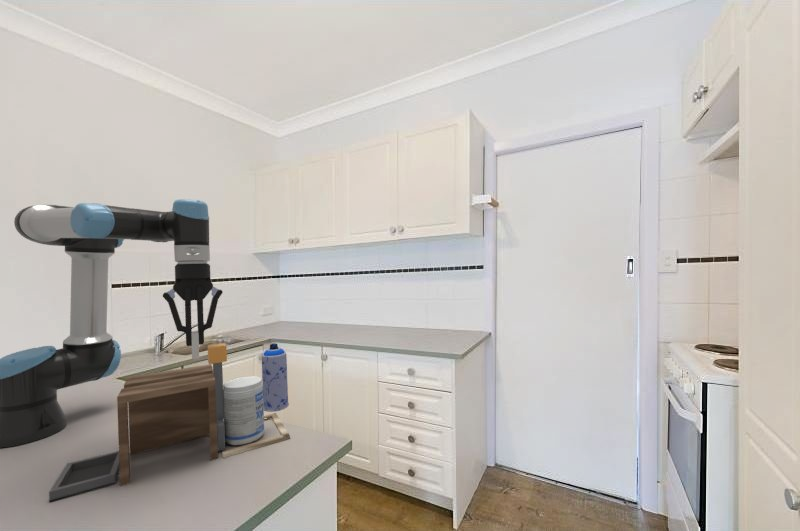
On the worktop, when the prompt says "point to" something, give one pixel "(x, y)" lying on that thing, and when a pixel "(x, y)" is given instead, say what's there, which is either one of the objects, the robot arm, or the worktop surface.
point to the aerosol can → (274, 379)
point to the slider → (218, 387)
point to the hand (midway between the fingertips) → (195, 358)
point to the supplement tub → (243, 410)
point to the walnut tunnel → (166, 412)
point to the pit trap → (86, 476)
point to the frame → (262, 443)
